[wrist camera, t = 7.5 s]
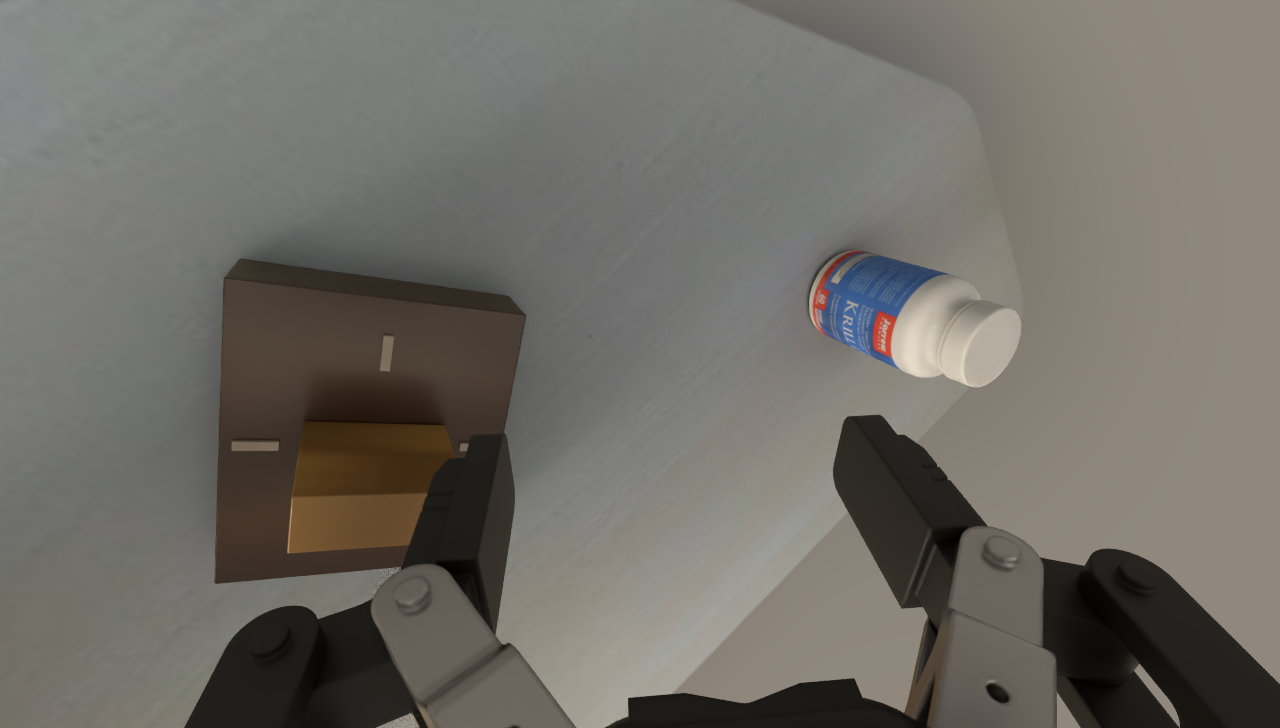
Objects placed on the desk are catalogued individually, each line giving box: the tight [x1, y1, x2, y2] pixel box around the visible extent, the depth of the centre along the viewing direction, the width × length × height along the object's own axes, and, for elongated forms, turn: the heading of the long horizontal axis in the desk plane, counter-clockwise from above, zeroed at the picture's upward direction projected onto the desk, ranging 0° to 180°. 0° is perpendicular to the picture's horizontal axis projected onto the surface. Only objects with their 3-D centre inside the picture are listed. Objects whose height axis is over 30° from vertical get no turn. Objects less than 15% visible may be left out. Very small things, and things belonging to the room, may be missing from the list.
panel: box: [214, 259, 526, 584], centre depth 23 cm, size 12×10×3 cm
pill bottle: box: [809, 250, 1021, 387], centre depth 30 cm, size 6×5×10 cm
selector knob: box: [287, 421, 455, 553], centre depth 20 cm, size 5×2×5 cm, turn 74°
